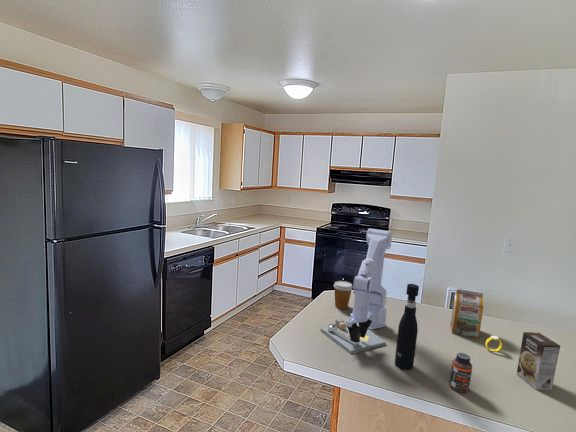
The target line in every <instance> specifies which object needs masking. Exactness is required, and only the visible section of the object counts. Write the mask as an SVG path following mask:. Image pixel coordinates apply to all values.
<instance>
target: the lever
mask: <svg viewBox="0 0 576 432" xmlns="http://www.w3.org/2000/svg"><path fill="white" fill-rule="evenodd" d="M327 327H328V329H327V330H328V331H329V332H333V333H335V334H336V335H338V336H340V337H342V338H343V339H345V340H347V341H348V342H350V343H352V344H354V345H355V346H356V345H358V344H360V335H361V332H360V331H359V332H358V335H357V340H356V342H353V341H351V340H350V335H349V334H347V333H345V332H344V331H342V330H340V329H338V328H337V325H335V324H333V323H330V324H328V325H327Z"/></svg>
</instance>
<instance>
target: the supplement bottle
mask: <svg viewBox="0 0 576 432" xmlns="http://www.w3.org/2000/svg"><path fill="white" fill-rule="evenodd" d="M472 370H473V364H472V363H471V356H470V355H469V354H467V353H464V352H457V353H456V356H455V358H453V359H452V362H451V367H450V374H449V380H448V381H449V382H448V385H449V387H450V388H451V389H453V390H454V391H456V392H459V393H467V392H469V389H470V384H471V379H472Z"/></svg>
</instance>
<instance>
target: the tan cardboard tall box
mask: <svg viewBox="0 0 576 432" xmlns="http://www.w3.org/2000/svg"><path fill="white" fill-rule="evenodd" d="M452 304H453V305H452V311H451V319H450V329H451V334H453V335H458V336H463V337H467V338H471V339H478V340H479V339H480V332H481V327H482V319H483V312H484V293H483V292H479V291H474V290H467V289H461V288H456V290H455V293H454V298H453V303H452Z"/></svg>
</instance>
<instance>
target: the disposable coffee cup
mask: <svg viewBox="0 0 576 432" xmlns="http://www.w3.org/2000/svg"><path fill="white" fill-rule="evenodd" d="M333 288H334V305H335V306H334V307H335V308H337V309H340V310H346V309H348V307H349V304H350V303H349V302H350V299H351V296H352V295H351V294H352V291H353V284H352V283H351V282H349V281H345V280H337V281H335V282H334V284H333Z"/></svg>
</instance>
